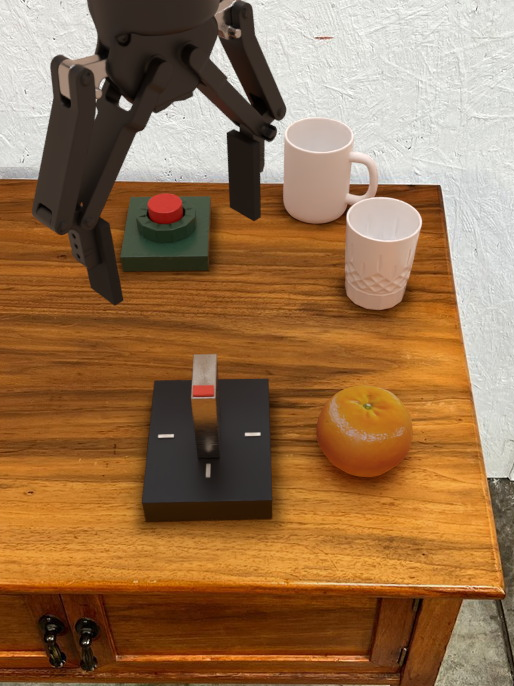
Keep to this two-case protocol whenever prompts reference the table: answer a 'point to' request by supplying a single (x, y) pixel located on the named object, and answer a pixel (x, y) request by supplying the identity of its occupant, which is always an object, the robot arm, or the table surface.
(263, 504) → the panel
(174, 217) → the button
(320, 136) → the cup
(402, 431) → the fruit
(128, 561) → the table surface
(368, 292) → the white cup
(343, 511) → the table surface
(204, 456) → the knob
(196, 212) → the button block
